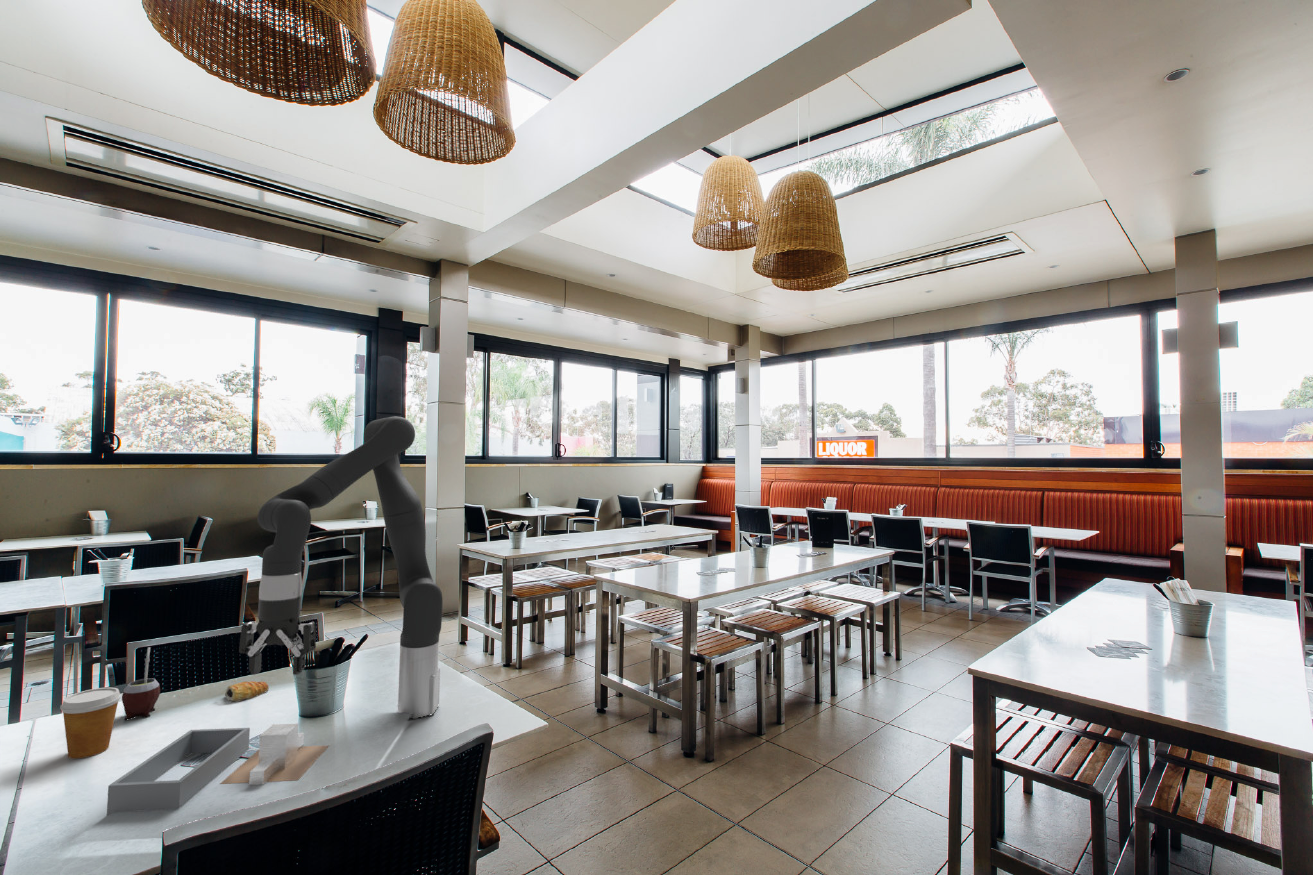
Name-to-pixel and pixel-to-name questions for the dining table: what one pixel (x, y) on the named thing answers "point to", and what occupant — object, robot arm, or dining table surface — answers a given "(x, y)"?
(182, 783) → the bin
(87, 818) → the dining table surface
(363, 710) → the dining table surface
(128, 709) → the mate gourd
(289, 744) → the strut
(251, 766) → the stud base
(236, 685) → the pastry
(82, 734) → the disposable coffee cup
